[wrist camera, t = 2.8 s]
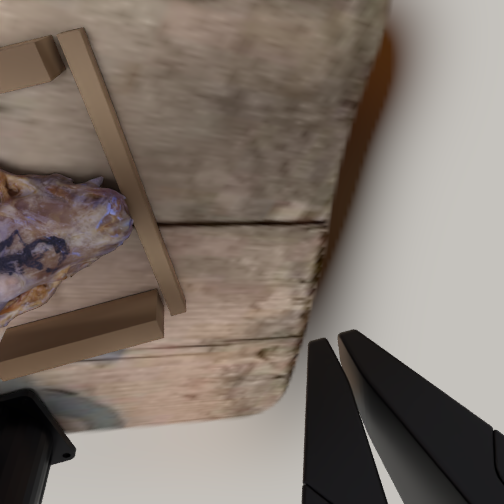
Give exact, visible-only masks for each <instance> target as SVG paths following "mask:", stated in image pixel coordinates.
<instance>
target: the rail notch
mask: <svg viewBox="0 0 504 504" xmlns="http://www.w3.org/2000/svg"><path fill="white" fill-rule="evenodd" d="M57 38H58V40H59V42H60V45H61V47H62V50H63V52H64V55H65V57H66V60H67V62H68V64H69V67H70V69H71V72H72V74H73V77H74V79H75V82H76V84H77V86H78V89H79V91H80V94H81V96H82V99H83V101H84V104H85V106H86V108H87V111H88V113H89V116H90V118H91V121H92V123H93V126H94V128H95V130H96V133H97V135H98V138H99V140H100V143H101V145H102V148H103V150H104V152H105V155H106V157H107V160H108V162H109V165H110V167H111V170H112V172H113V174H114V177H115V179H116V182H117V184H118V187H119V189H120V192H121V194H122V195H124V196H125V197H126V199H124V201H125V202H126V204H127V206H128V211H129V214H130V216H131V218H132V219H133V223H134V226H135V228H136V231H137V233H138V235H139V238H140V240H141V243H142V245H143V248H144V250H145V253H146V255H147V257H148V260H149V262H150V265H151V267H152V270H153V272H154V275H155V277H156V279H157V282H158V284H159V287H160V289H161V292H162V294H163V297H164V299H165V301H166V304H167V306H168V309H169V311H170V314H171V316H173V315H177V314H180V313H184V312H186V300H185V297H184V295H183V292H182V289H181V287H180V284H179V281H178V279H177V276H176V273H175V271H174V268H173V265H172V263H171V260H170V257H169V255H168V252H167V249H166V247H165V244H164V241H163V239H162V236H161V233H160V230H159V228H158V225H157V222H156V220H155V217H154V214H153V212H152V209H151V206H150V204H149V201H148V198H147V196H146V193H145V190H144V188H143V185H142V182H141V180H140V177H139V174H138V172H137V169H136V166H135V164H134V161H133V158H132V156H131V153H130V150H129V148H128V145H127V142H126V140H125V137H124V134H123V132H122V129H121V126H120V124H119V121H118V118H117V115H116V113H115V110H114V107H113V105H112V102H111V99H110V97H109V94H108V91H107V89H106V86H105V83H104V81H103V78H102V75H101V73H100V70H99V67H98V65H97V62H96V59H95V57H94V54H93V51H92V49H91V46H90V43H89V41H88V38H87V35H86V33H85V30H84V27H83V28H78V29H74V30H70V31H66V32H62V33H60V34H57ZM64 70H65V66H64V64H63V61H62V59H61V57H60V54H59V52H58V49H57V47H56V45H55V42H54V40H53V37H52V35H49V36H45V37H41V38H37V39H33V40H29V41H25V42H21V43H16V44H12V45H8V46H4V47H0V94H1V93H6V92H10V91H14V90H18V89H22V88H26V87H30V86H34V85H38V84H42V83H46V82H50V81H52V80H53V79H54V78H56V77H57V76H58V75H59V74H61V73H62V72H63V71H64ZM161 338H164V305H163V302H162V300H161V298H160V295H159V293H158V290H157V289H155V290H151V291H147V292H143V293H140V294H136V295H132V296H129V297H125V298H121V299H117V300H114V301H110V302H106V303H102V304H99V305H95V306H91V307H87V308H84V309H80V310H76V311H72V312H69V313H65V314H61V315H57V316H54V317H50V318H46V319H43V320H39V321H35V322H31V323H28V324H24V325H20V326H16V327H13V328H9V329H6V331H5V334H4V336H3V338H2V340H1V342H0V378H1V379H2V381H7V380H11V379H14V378H18V377H22V376H25V375H29V374H33V373H36V372H40V371H44V370H47V369H51V368H55V367H58V366H62V365H66V364H69V363H73V362H77V361H80V360H84V359H88V358H91V357H95V356H99V355H103V354H106V353H110V352H114V351H117V350H121V349H125V348H128V347H132V346H136V345H139V344H143V343H147V342H150V341H154V340H158V339H161Z"/></svg>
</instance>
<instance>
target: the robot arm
mask: <svg viewBox="0 0 504 504" xmlns="http://www.w3.org/2000/svg"><path fill="white" fill-rule="evenodd" d="M338 346H339V354H340V361H341V365H342V366H341V365H340V362H339V361H338V359H337V357H336V355H335V353H334V351H333V349H332V347H331V346H330V344H329V342H328V340H327V339H326V338H320V339H316V340H313V341H310V342H309V344H308V362H307V387H306V414H305V438H304V463H303V487H302V504H388V502H387V499H386V496H385V493H384V490H383V486H382V483H381V480H380V477H379V474H378V471H377V468H376V464H375V461H374V458H373V455H372V452H371V448H370V445H369V442H368V439H367V436H366V433H365V430H364V426H363V423H364V425H365V428H366V430H367V432H368V435H369V437H370V439H371V440H372V443H373V445H374V447H375V449H376V450H377V452H378V454H379V456H380V458H381V460H382V462H383V464H384V466H385V468H386V470H387V472H388V474H389V475H390V477H391V479H392V481H393V483H394V485H395V487H396V489H397V491H398V493H399V495H400V496H401V498H402V501H403V502H404V504H504V435H503V434H501V433H500V432H499V431H497V430H494V431H493V428H492V426H490V425H489V424H487V423H486V422H485V421H483V420H482V419H480V418H479V417H477V416H476V415H475V414H473V413H472V412H470V411H469V410H468V409H466V408H465V407H464V406H462V405H461V404H460V403H458V402H457V401H455V400H454V399H452V398H451V397H450V396H448V395H447V394H446V393H444V392H443V391H441V390H440V389H439V388H437V387H436V386H434V385H433V384H432V383H430V382H429V381H427V380H426V379H425V378H423V377H422V376H420V375H419V374H418V373H416V372H415V371H413V370H412V369H410V368H409V367H408V366H406V365H405V364H404V363H402V362H401V361H399V360H398V359H397V358H395V357H394V356H392V355H391V354H390V353H388V352H387V351H385V350H384V349H383V348H381V347H380V346H378V345H377V344H376V343H374V342H373V341H371V340H370V339H369V338H367V337H366V336H364V335H363V334H362V333H360V332H359V331H357V330H354V329H353V330H350V331H346V332H342V333H340V334H338ZM359 413H360V414H359ZM360 415H361V417H360ZM361 418H362V420H363V423H362V420H361ZM75 452H76V448H75V446H74V445H73V444H72V442H71V441H70V440H69V438H68V437H67V436H66V434H65V433H64V432H63V431H62V429H61V428H60V427H59V425H58V424H57V423H56V421H55V420H54V419H53V417H52V416H51V415H50V413H49V412H48V411H47V409H46V408H45V407H44V405H43V404H42V403H41V401H40V400H39V399H38V397H37V396H36V395H35V394H34V393H33V392H31V391H28V390H24V391H19V392H16V393H12V394H8V395H5V396H1V397H0V504H41V503H42V499H43V495H44V490H45V487H46V482H47V478H48V474H49V470H50V466H51V465H53V464H57V463H60V462H64V461H67V460H71V459H72V458H74V456H75Z"/></svg>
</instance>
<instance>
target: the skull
mask: <svg viewBox="0 0 504 504" xmlns="http://www.w3.org/2000/svg"><path fill="white" fill-rule="evenodd" d="M103 180H104V179H103V177H101V176H100V177H97V178H94V179H91V180H89V181H87V182H84V183H79V184H74V183H72V181H73V180H72V179H71V178H68V177H65V176H63V175H60V174H56V173H54V174H51V175H36V174H32V175H15V174H12V173H10V172H7V171H5V170H3V169H1V168H0V327H5V326H7V325H8V323H9V322H10V321H11V320H12V319H13V318H15V317H16V316H18V315H20V314H23V313H25V312H27V311H30V310H33V309H35V308H38V307H40V306H42V305H43V304H45V303H46V302H47V301H48V300H49V299H50V298H51V297H52V295H53V294H54V293H55V291H56V289H57V287H58V286H59V284H60V283H61V282H62V280H64V279H66V278H67V277H68V276H70V277H72V276H73V275H74V274H75V273H77V272H78V271H79V270H81V269H83V268H85V267H88V266H90V265H91V264H92V263H93V262H94V261H96V260H97V259H99V258H100V257H101V256H103V255H105V254H108V253H110V252H111V251H113V250H115V249H116V248H117V247H118V246H120V245H122V244H123V241H124V240H126V239H127V238H128V237H129V235H130V234H131V232H132V229H133V227H132V224H133V219H131V217H130V215H129V211H128V206H127V204H126V202H125V201H124V199H126V197H125V196H124V195H122V194H120V193H118V192H117V191H115V190H112V189H109V188H100V185H101V184H102V183H103Z"/></svg>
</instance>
